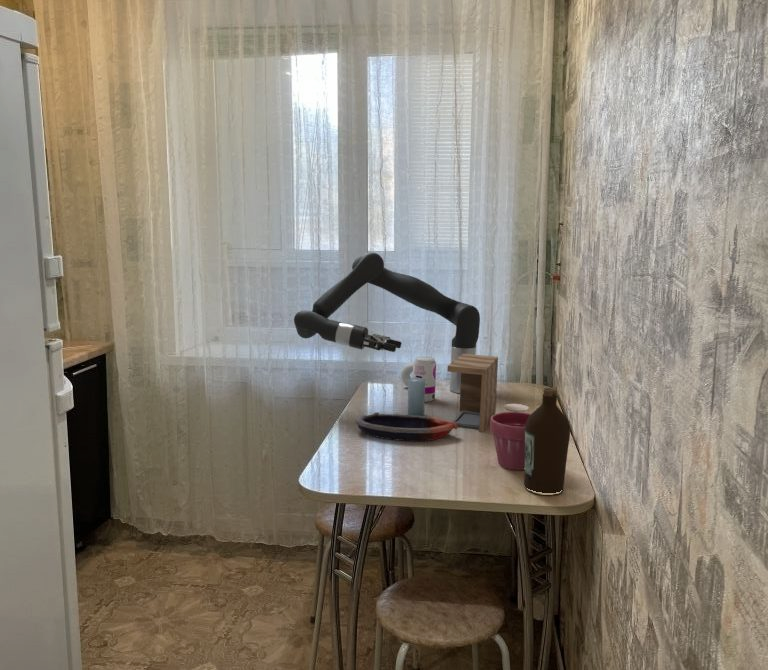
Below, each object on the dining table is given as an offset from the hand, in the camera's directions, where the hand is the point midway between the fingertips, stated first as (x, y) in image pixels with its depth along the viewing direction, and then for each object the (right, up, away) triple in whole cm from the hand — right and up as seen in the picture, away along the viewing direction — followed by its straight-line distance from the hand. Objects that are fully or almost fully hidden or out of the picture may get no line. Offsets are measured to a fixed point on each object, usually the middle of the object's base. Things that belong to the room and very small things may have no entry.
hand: (398, 347), depth 225 cm
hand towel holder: (+39, -25, -5) cm, 47 cm away
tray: (+23, -24, -3) cm, 34 cm away
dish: (+2, -27, -18) cm, 32 cm away
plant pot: (+30, -31, -41) cm, 60 cm away
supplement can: (+10, -20, +23) cm, 31 cm away
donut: (+7, -17, +38) cm, 42 cm away
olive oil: (+34, -34, -57) cm, 74 cm away
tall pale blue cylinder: (+6, -23, +3) cm, 24 cm away
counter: (+24, -24, -2) cm, 34 cm away
